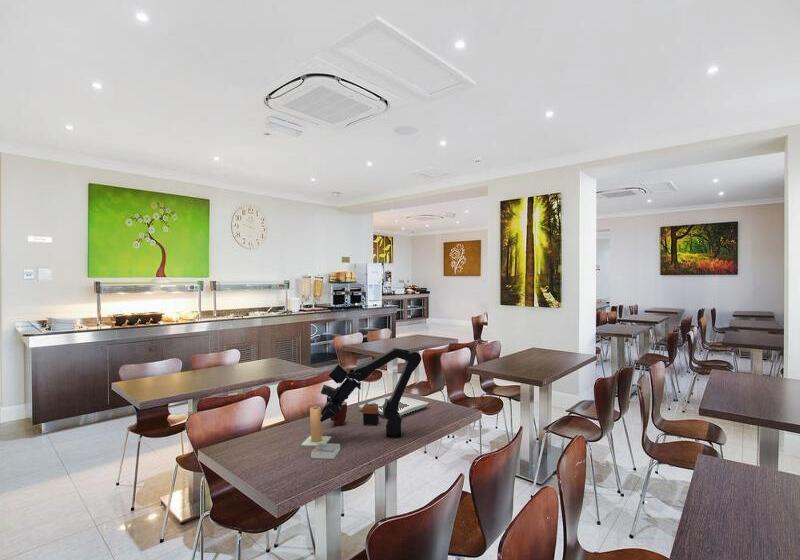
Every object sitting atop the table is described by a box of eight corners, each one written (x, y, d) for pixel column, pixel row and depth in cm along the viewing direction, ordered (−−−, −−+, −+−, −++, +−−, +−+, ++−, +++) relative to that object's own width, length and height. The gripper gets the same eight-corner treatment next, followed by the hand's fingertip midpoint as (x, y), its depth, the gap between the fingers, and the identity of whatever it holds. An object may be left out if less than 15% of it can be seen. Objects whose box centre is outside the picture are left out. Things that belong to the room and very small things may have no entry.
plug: (324, 439, 188) (323, 406, 188) (316, 443, 184) (315, 409, 184) (316, 437, 190) (315, 404, 190) (308, 441, 186) (307, 407, 186)
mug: (340, 429, 202) (339, 407, 202) (325, 427, 205) (324, 406, 205) (350, 421, 212) (349, 401, 212) (335, 420, 214) (335, 400, 214)
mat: (331, 437, 191) (331, 436, 191) (323, 446, 181) (323, 445, 181) (309, 437, 193) (309, 435, 193) (301, 445, 183) (301, 444, 183)
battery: (376, 425, 205) (376, 404, 205) (363, 425, 206) (362, 404, 206) (379, 422, 209) (378, 402, 209) (365, 422, 211) (365, 401, 211)
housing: (340, 449, 177) (339, 443, 177) (333, 458, 168) (333, 452, 168) (319, 449, 178) (319, 443, 178) (311, 458, 169) (311, 452, 169)
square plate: (429, 408, 229) (429, 401, 229) (394, 422, 209) (393, 414, 209) (393, 400, 248) (393, 393, 248) (357, 412, 228) (357, 404, 228)
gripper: (331, 373, 197) (308, 400, 196) (330, 383, 179) (305, 412, 177) (349, 389, 198) (326, 415, 197) (350, 400, 180) (325, 429, 178)
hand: (320, 417), depth 187 cm, fingers open, 9 cm apart
